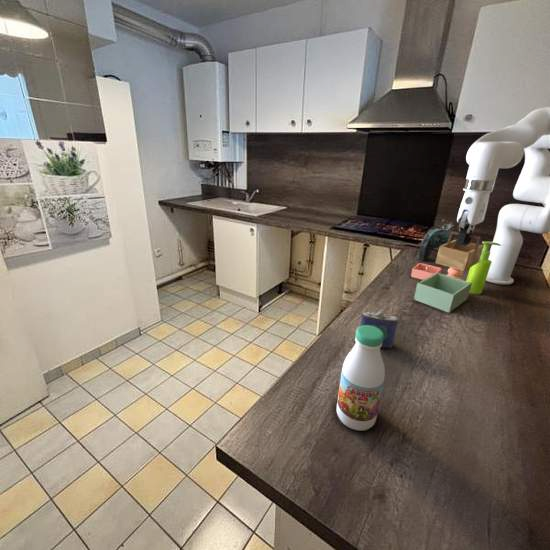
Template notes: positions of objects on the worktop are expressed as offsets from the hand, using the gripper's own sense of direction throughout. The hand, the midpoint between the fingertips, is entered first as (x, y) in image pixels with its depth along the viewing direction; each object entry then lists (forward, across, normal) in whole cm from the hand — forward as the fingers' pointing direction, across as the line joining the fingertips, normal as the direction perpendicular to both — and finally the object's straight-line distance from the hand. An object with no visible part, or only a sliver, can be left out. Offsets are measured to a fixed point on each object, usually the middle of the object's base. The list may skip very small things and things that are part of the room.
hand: (462, 243), depth 96 cm
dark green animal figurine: (+22, +45, +24) cm, 56 cm away
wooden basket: (+7, 0, 0) cm, 7 cm away
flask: (+22, -42, +2) cm, 48 cm away
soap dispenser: (+22, +18, -3) cm, 28 cm away
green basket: (+22, 0, +2) cm, 22 cm away
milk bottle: (+21, -66, -10) cm, 70 cm away
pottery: (+22, +18, +11) cm, 30 cm away
